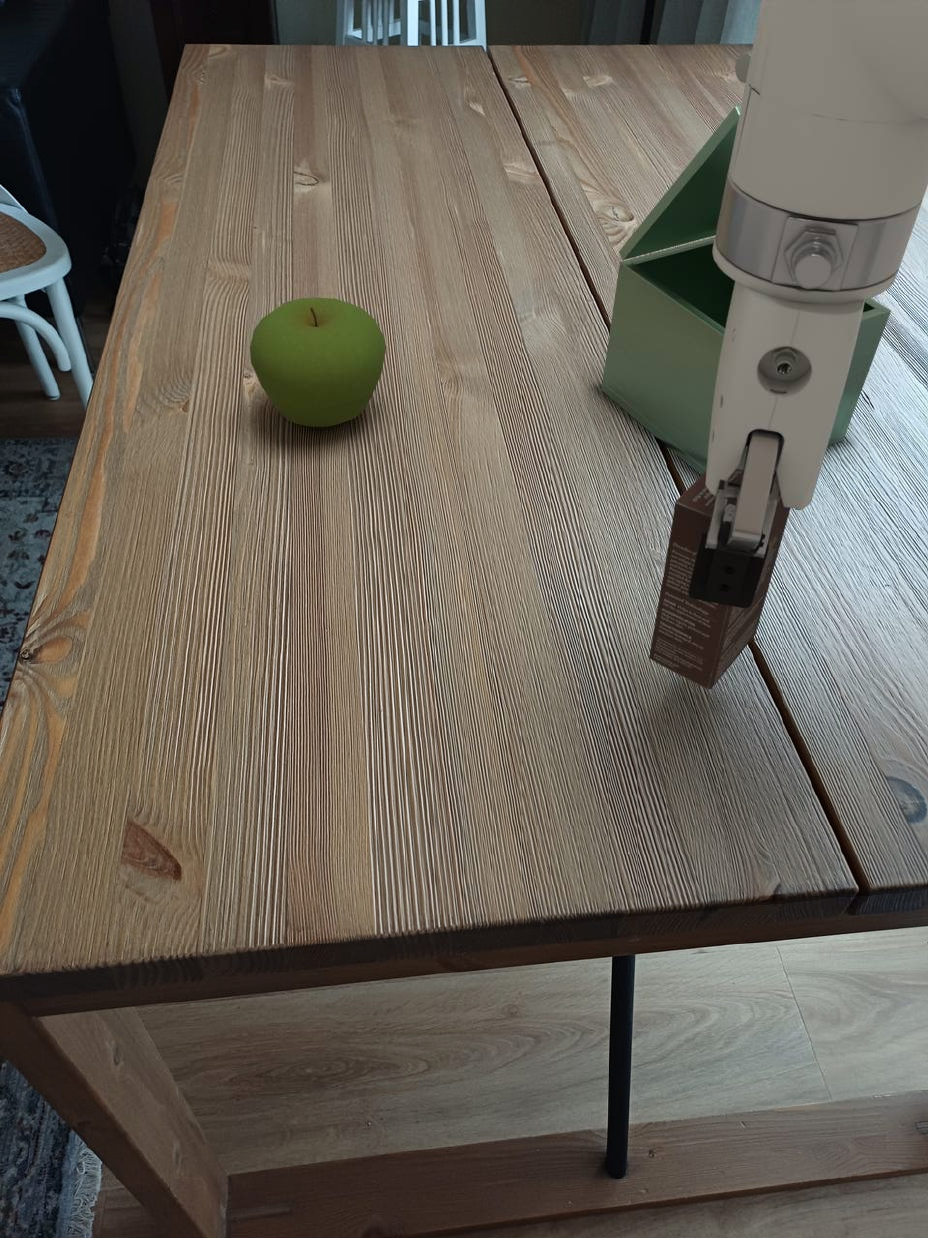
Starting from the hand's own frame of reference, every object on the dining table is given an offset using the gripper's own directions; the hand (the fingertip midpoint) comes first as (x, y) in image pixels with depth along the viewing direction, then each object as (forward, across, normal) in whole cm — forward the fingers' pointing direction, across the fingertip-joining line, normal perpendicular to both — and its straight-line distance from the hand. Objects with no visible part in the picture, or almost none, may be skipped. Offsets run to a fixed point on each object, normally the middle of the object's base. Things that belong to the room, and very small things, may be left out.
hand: (725, 549), depth 53 cm
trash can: (+13, +32, +1) cm, 35 cm away
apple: (+12, +22, +33) cm, 41 cm away
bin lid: (-6, +34, +2) cm, 35 cm away
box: (+8, 0, 0) cm, 8 cm away
